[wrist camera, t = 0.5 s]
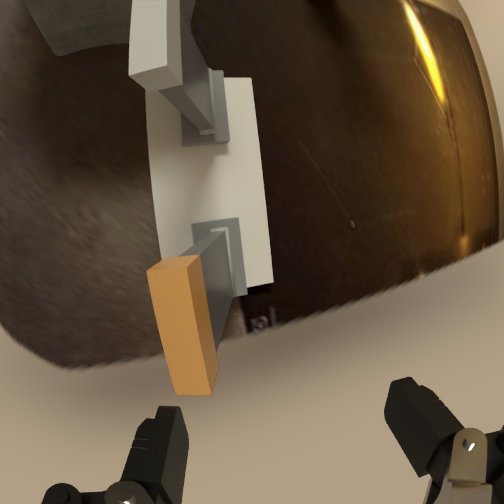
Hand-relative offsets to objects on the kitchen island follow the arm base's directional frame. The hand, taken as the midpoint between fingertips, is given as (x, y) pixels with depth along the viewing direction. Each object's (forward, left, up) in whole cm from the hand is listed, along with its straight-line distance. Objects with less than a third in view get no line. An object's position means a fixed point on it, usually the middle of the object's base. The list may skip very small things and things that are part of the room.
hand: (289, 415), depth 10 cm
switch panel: (-3, +9, -22) cm, 24 cm away
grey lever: (-7, +16, -18) cm, 25 cm away
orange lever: (+1, +3, -18) cm, 18 cm away
